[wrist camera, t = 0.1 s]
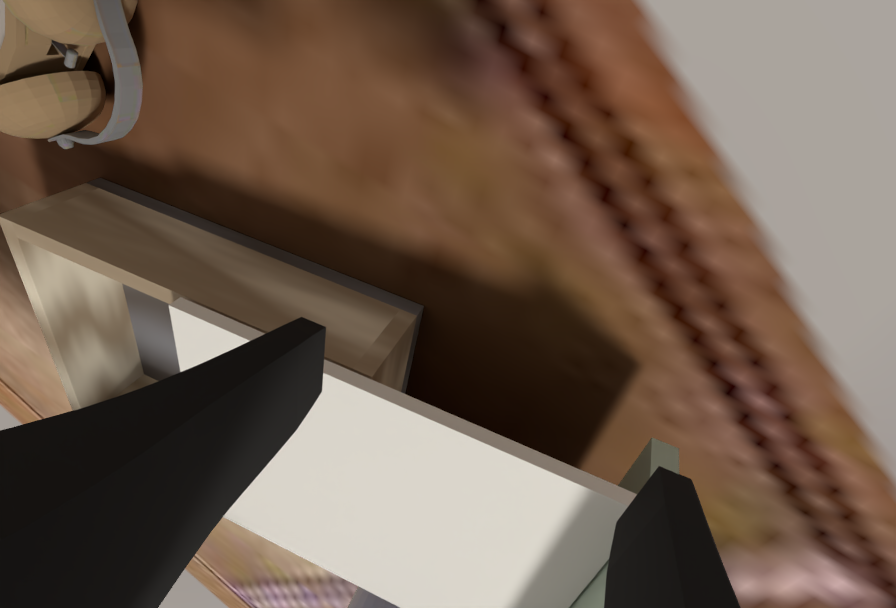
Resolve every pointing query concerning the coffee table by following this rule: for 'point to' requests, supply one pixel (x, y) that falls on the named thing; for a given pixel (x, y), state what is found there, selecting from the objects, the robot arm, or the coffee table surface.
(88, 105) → the alarm clock
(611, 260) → the coffee table surface
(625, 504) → the lid
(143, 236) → the case
